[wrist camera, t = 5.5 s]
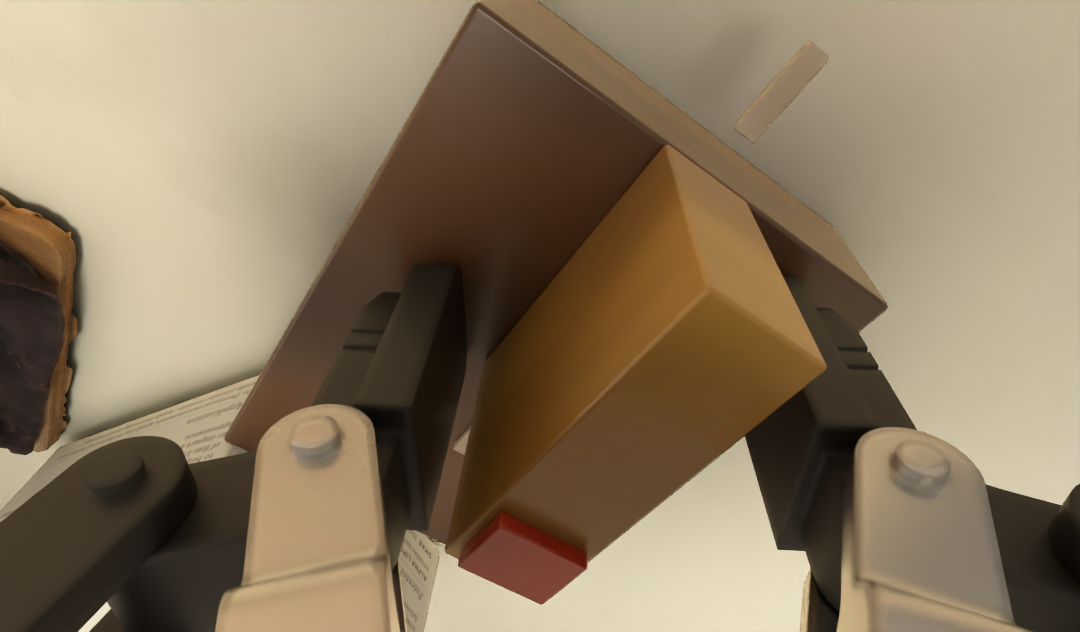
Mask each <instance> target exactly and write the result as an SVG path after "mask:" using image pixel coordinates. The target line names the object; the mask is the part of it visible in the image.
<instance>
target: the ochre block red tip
mask: <svg viewBox="0 0 1080 632" xmlns="http://www.w3.org/2000/svg"><path fill="white" fill-rule="evenodd" d="M826 367H827V365H826V363H825V361H824V359H823V357H822V355H821V353H820V351H819V349H818V347H817V345H816V343H815V341H814V339H813V337H812V335H811V333H810V331H809V329H808V327H807V325H806V323H805V321H804V319H803V317H802V315H801V313H800V310H799V308H798V306H797V304H796V302H795V300H794V298H793V296H792V294H791V292H790V290H789V288H788V286H787V284H786V282H785V280H784V278H783V276H782V274H781V272H780V270H779V268H778V266H777V264H776V262H775V260H774V258H773V255H772V253H771V251H770V249H769V247H768V245H767V243H766V241H765V239H764V237H763V235H762V233H761V231H760V229H759V227H758V225H757V223H756V221H755V219H754V217H753V215H752V213H751V211H750V209H749V207H748V205H747V203H746V202H745V201H744V200H743V199H741V198H740V197H739V196H737V195H736V194H735V193H733V192H732V191H731V190H729V189H728V188H727V187H725V186H724V185H722V184H721V183H720V182H718V181H717V180H716V179H714V178H713V177H712V176H710V175H709V174H708V173H706V172H705V171H704V170H702V169H701V168H699V167H698V166H697V165H695V164H694V163H693V162H691V161H690V160H689V159H687V158H686V157H685V156H683V155H682V154H681V153H679V152H678V151H676V150H675V149H674V148H672V147H671V146H670V145H665V146H664V147H663V148H662V149H661V150H660V151H659V153H658V154H657V155H656V156H655V157H654V159H653V160H652V161H651V162H650V163H649V165H648V166H647V167H646V168H645V169H644V171H643V172H642V173H641V174H640V175H639V177H638V178H637V179H636V180H635V181H634V183H633V184H632V185H631V186H630V188H629V189H628V190H627V191H626V192H625V194H624V195H623V196H622V197H621V198H620V200H619V201H618V202H617V203H616V204H615V206H614V207H613V208H612V209H611V210H610V212H609V213H608V214H607V215H606V216H605V218H604V219H603V220H602V221H601V222H600V224H599V225H598V226H597V227H596V229H595V230H594V231H593V232H592V233H591V235H590V236H589V237H588V238H587V239H586V241H585V242H584V243H583V244H582V245H581V247H580V248H579V249H578V250H577V251H576V253H575V254H574V255H573V256H572V257H571V259H570V260H569V261H568V262H567V264H566V265H565V266H564V267H563V268H562V270H561V271H560V272H559V273H558V274H557V276H556V277H555V278H554V279H553V280H552V282H551V283H550V284H549V285H548V286H547V288H546V289H545V290H544V291H543V292H542V294H541V295H540V296H539V297H538V299H537V300H536V301H535V302H534V303H533V305H532V306H531V307H530V308H529V309H528V311H527V312H526V313H525V314H524V315H523V317H522V318H521V319H520V320H519V321H518V323H517V324H516V325H515V326H514V327H513V329H512V330H511V331H510V332H509V334H508V335H507V336H506V337H505V338H504V340H503V341H502V342H501V343H500V344H499V346H498V347H497V348H496V349H495V350H494V352H493V353H492V354H491V355H490V356H489V358H488V359H487V360H486V361H485V362H484V365H483V370H482V375H481V380H480V384H479V389H478V394H477V399H476V403H475V408H474V413H473V418H472V422H471V427H470V432H469V437H468V442H467V446H466V451H465V456H464V461H463V465H462V470H461V475H460V480H459V484H458V489H457V494H456V499H455V504H454V508H453V513H452V518H451V523H450V527H449V532H448V537H447V542H446V546H445V552H446V553H447V554H449V555H451V556H453V557H456V558H458V559H459V563H458V566H459V567H461V568H463V569H465V570H467V571H469V572H471V573H474V574H476V575H478V576H480V577H482V578H485V579H487V580H489V581H491V582H493V583H495V584H498V585H500V586H502V587H504V588H506V589H509V590H511V591H513V592H515V593H517V594H519V595H522V596H524V597H526V598H528V599H530V600H533V601H535V602H537V603H539V604H544V603H545V602H546V601H548V600H549V599H550V598H551V597H553V596H554V595H555V594H556V593H558V592H559V591H560V590H561V589H563V588H564V587H565V586H566V585H568V584H569V583H570V582H571V581H572V580H574V579H575V578H576V577H577V576H579V575H580V574H581V573H582V572H584V571H585V570H586V569H587V563H588V562H589V561H590V560H592V559H593V558H594V557H595V556H597V555H598V554H599V553H600V552H601V551H603V550H604V549H605V548H606V547H608V546H609V545H610V544H611V543H613V542H614V541H615V540H616V539H618V538H619V537H620V536H621V535H622V534H624V533H625V532H626V531H627V530H629V529H630V528H631V527H632V526H634V525H635V524H636V523H637V522H639V521H640V520H641V519H642V518H644V517H645V516H646V515H647V514H648V513H650V512H651V511H652V510H653V509H655V508H656V507H657V506H658V505H660V504H661V503H662V502H663V501H665V500H666V499H667V498H668V497H669V496H671V495H672V494H673V493H674V492H676V491H677V490H678V489H679V488H681V487H682V486H683V485H684V484H686V483H687V482H688V481H689V480H691V479H692V478H693V477H694V476H695V475H697V474H698V473H699V472H700V471H702V470H703V469H704V468H705V467H707V466H708V465H709V464H710V463H712V462H713V461H714V460H715V459H717V458H718V457H719V456H720V455H721V454H723V453H724V452H725V451H726V450H728V449H729V448H730V447H731V446H733V445H734V444H735V443H736V442H738V441H739V440H740V439H741V438H742V437H744V436H745V435H746V434H747V433H749V432H750V431H751V430H752V429H754V428H755V427H756V426H757V425H759V424H760V423H761V422H762V421H764V420H765V419H766V418H767V417H768V416H770V415H771V414H772V413H773V412H775V411H776V410H777V409H778V408H780V407H781V406H782V405H783V404H785V403H786V402H787V401H788V400H789V399H791V398H792V397H793V396H794V395H796V394H797V393H798V392H799V391H801V390H802V389H803V388H804V387H806V386H807V385H808V384H809V383H811V382H812V381H813V380H814V379H815V378H817V377H818V376H819V375H820V374H822V373H823V372H824V371H825V370H826Z"/></svg>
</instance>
